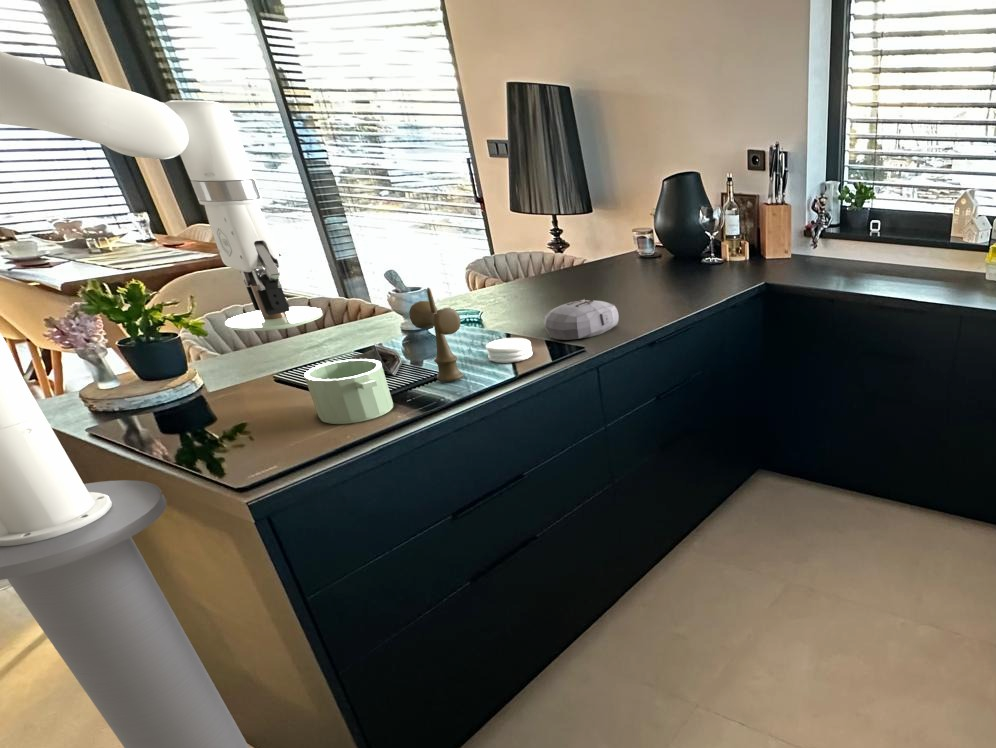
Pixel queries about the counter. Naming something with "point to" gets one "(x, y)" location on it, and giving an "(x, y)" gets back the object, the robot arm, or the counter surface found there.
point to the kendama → (439, 334)
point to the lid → (272, 317)
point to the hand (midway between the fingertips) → (272, 310)
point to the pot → (349, 391)
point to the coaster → (509, 350)
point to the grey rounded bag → (581, 319)
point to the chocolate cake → (383, 358)
